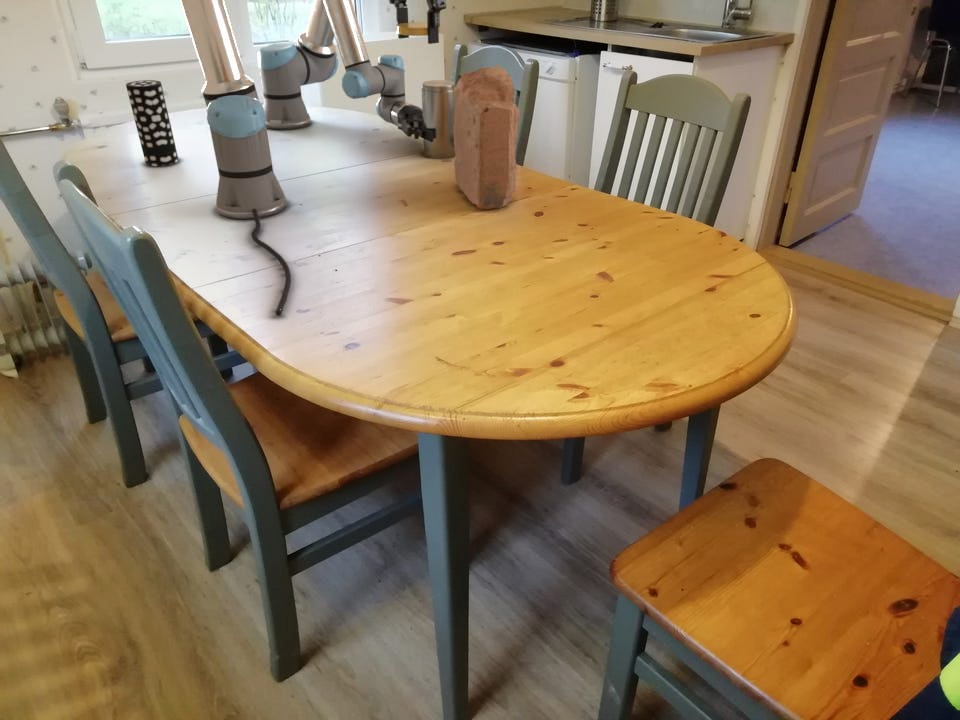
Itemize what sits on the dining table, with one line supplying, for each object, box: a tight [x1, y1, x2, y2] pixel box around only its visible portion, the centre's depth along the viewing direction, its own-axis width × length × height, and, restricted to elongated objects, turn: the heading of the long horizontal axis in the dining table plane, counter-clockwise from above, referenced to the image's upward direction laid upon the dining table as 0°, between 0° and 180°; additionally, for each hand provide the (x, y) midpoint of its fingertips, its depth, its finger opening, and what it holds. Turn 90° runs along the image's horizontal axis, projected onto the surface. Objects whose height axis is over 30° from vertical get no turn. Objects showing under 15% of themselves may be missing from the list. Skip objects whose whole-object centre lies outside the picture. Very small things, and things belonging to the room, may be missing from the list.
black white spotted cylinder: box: [125, 79, 179, 167], centre depth 181 cm, size 8×8×20 cm
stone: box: [453, 66, 520, 210], centre depth 159 cm, size 22×11×28 cm, turn 18°
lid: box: [395, 21, 441, 37], centre depth 162 cm, size 10×10×2 cm
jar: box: [421, 79, 456, 159], centre depth 191 cm, size 9×9×19 cm
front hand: (418, 40), depth 163 cm, fingers closed on lid, 10 cm apart
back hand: (447, 134), depth 190 cm, fingers closed on jar, 9 cm apart
